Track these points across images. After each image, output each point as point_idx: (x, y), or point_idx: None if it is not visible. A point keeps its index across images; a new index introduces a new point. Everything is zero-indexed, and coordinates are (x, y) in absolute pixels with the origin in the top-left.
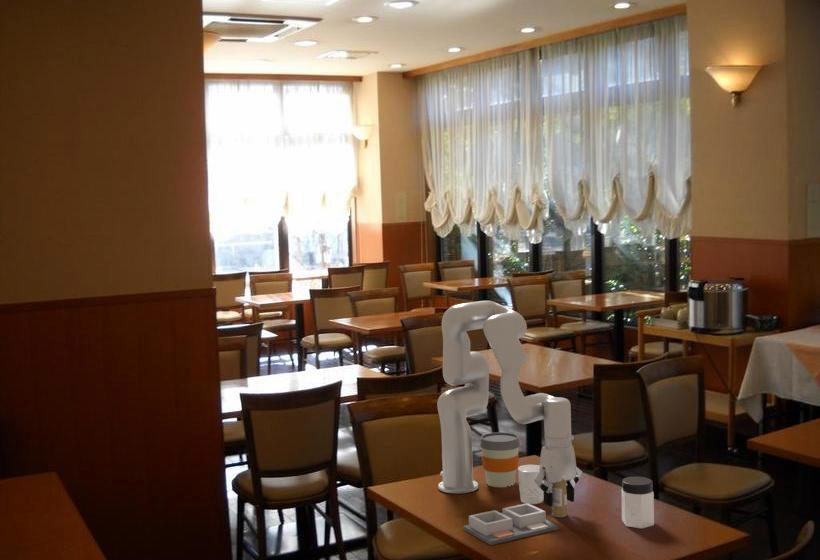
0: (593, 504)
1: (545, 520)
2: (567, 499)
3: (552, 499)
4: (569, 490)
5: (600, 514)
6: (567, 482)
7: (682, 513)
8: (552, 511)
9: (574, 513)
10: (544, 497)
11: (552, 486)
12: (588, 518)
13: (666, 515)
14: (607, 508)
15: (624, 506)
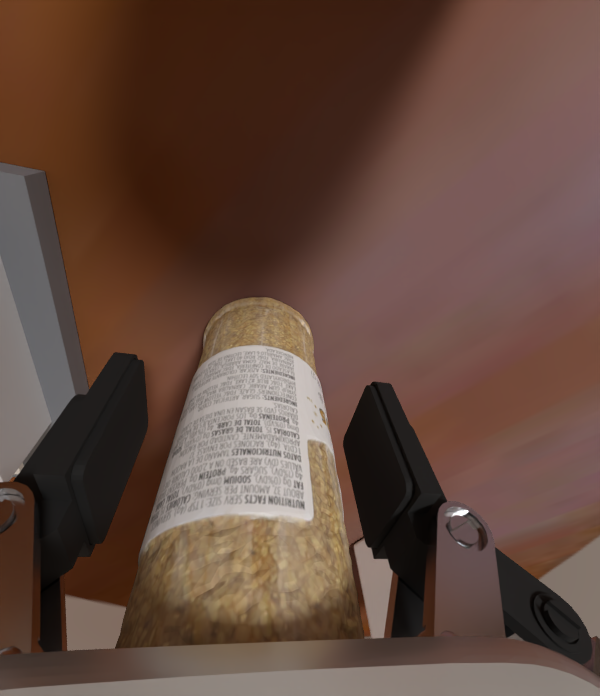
0: (571, 339)
1: (42, 429)
2: (359, 405)
3: (128, 477)
4: (373, 506)
5: (422, 445)
6: (432, 566)
7: (569, 548)
8: (206, 340)
9: (354, 371)
10: (54, 439)
11: (137, 578)
12: (336, 448)
13: (530, 541)
14: (527, 417)
15: (381, 627)
